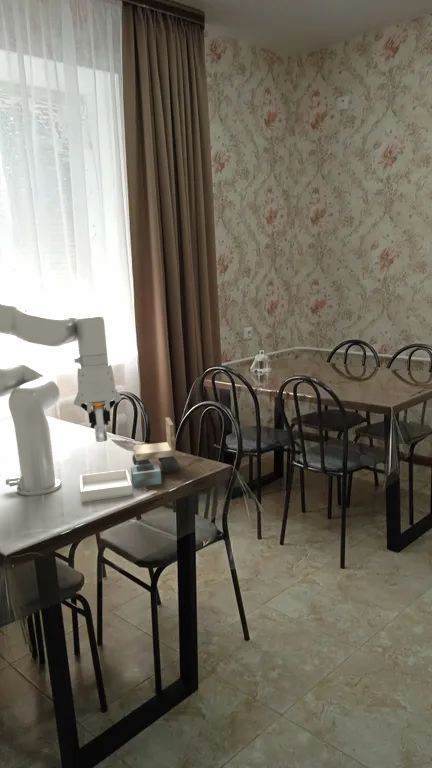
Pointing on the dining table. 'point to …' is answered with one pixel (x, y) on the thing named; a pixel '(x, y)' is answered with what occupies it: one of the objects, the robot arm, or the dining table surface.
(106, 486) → the tray
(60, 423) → the dining table surface
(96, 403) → the stop pin
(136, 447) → the trolley
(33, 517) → the dining table surface
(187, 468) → the dining table surface
